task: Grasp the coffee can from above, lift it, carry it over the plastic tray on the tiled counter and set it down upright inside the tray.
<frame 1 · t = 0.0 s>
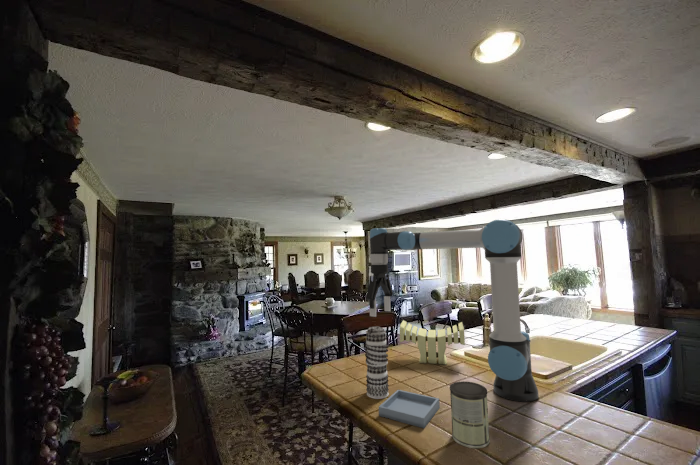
hand: (380, 313, 139), 28 cm above the worktop, tool pointing down, fingers open, 13 cm apart
coffee can: (470, 439, 94), on the worktop
tray: (409, 411, 110), on the worktop
slatted curved stool: (432, 360, 162), on the worktop
decorative candle: (377, 394, 125), on the worktop
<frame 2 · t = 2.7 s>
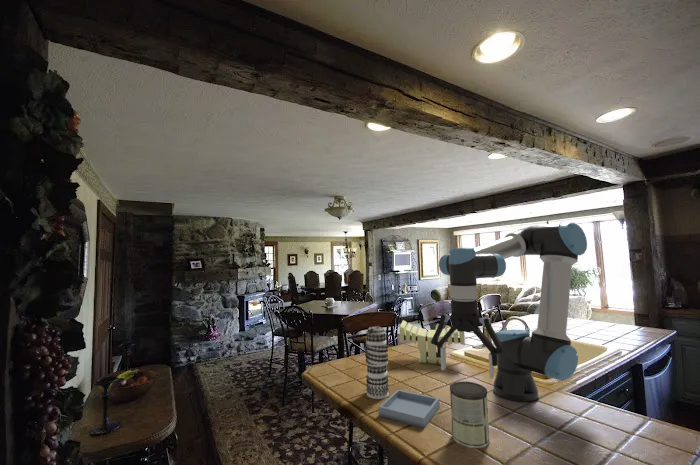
hand: (467, 372, 95), 18 cm above the worktop, tool pointing down, fingers open, 13 cm apart
nothing on the worktop moved.
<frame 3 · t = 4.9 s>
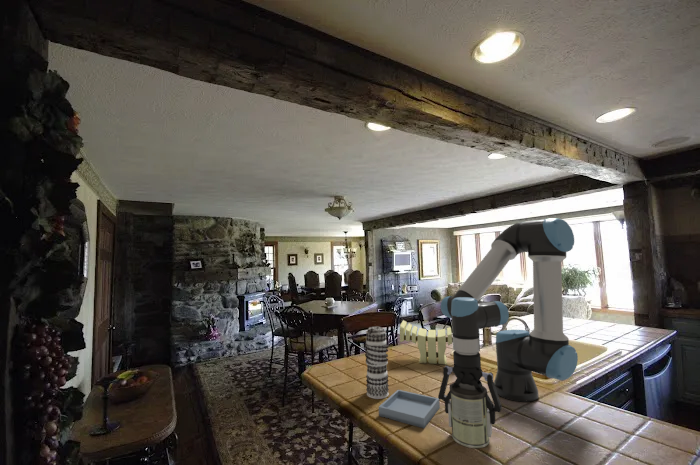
hand: (470, 429, 94), 2 cm above the worktop, tool pointing down, fingers closed on coffee can, 10 cm apart
coffee can: (470, 438, 94), on the worktop, touching gripper
everything else where it was.
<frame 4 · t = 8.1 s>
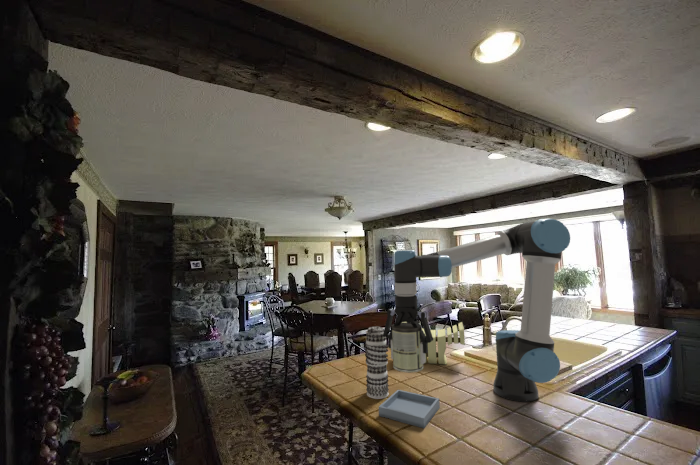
hand: (408, 360, 111), 17 cm above the worktop, tool pointing down, fingers closed on coffee can, 10 cm apart
coffee can: (408, 368, 111), point 15 cm above the worktop, touching gripper
everything else where it was.
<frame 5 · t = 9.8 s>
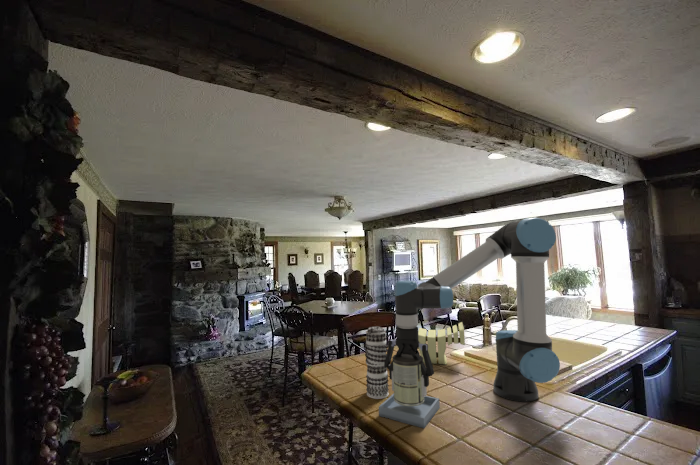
hand: (409, 392, 111), 6 cm above the worktop, tool pointing down, fingers closed on coffee can, 10 cm apart
coffee can: (408, 400, 110), point 4 cm above the worktop, touching gripper
everything else where it was.
when the fingers open (5 cm above the worktop, at t = 11.2 s): coffee can drops 1 cm, resting on tray.
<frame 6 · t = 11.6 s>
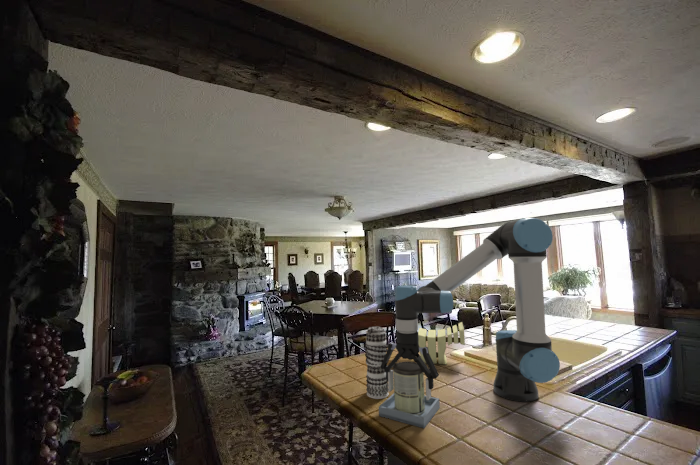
hand: (409, 394, 111), 6 cm above the worktop, tool pointing down, fingers open, 13 cm apart
coffee can: (409, 409, 110), point 1 cm above the worktop, touching tray
everything else where it was.
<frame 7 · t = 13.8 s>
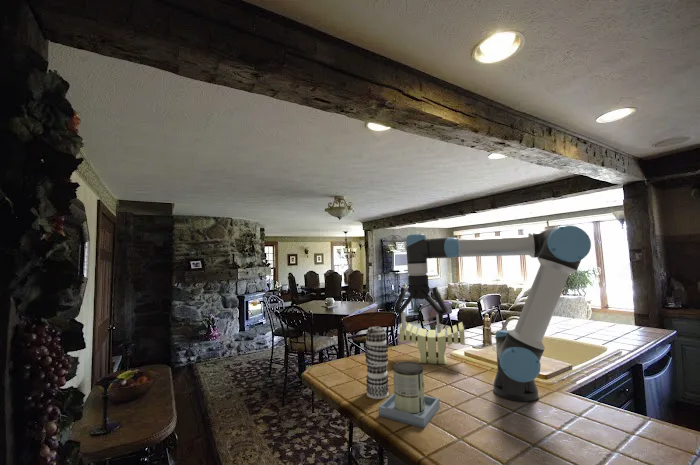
hand: (421, 331, 123), 24 cm above the worktop, tool pointing down, fingers open, 13 cm apart
nothing on the worktop moved.
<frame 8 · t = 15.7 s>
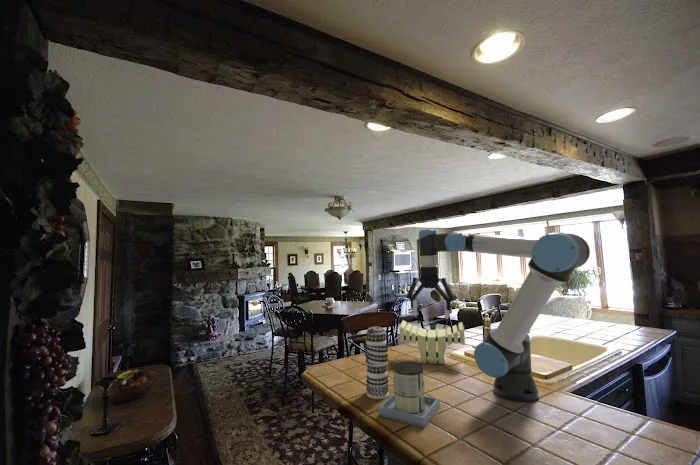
hand: (430, 317, 136), 27 cm above the worktop, tool pointing down, fingers open, 13 cm apart
nothing on the worktop moved.
at the end: coffee can inside the target area on the tray (0.3 cm from its centre), point 0.8 cm above the tray's base; coffee can tilted 0°; the gripper is holding nothing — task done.
